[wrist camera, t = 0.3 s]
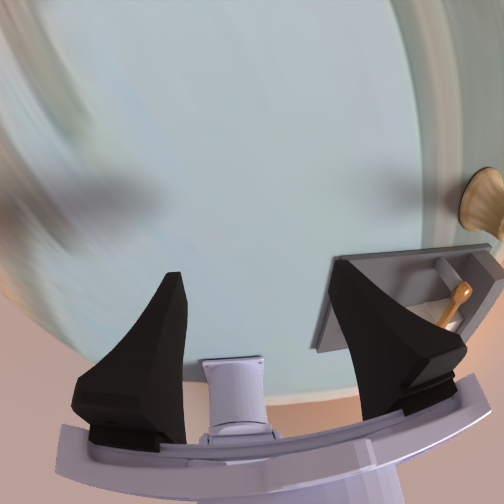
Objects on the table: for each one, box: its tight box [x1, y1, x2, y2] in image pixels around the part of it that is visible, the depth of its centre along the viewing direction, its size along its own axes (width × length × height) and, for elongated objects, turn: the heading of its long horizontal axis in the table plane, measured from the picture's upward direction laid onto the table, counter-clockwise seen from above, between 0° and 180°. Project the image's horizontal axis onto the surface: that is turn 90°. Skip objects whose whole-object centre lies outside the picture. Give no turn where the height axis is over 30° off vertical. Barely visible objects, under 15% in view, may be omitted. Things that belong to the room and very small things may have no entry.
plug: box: [405, 297, 465, 333], centre depth 31 cm, size 4×17×5 cm, turn 90°
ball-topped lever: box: [436, 281, 472, 329], centre depth 27 cm, size 15×2×1 cm, turn 0°
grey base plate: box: [316, 244, 504, 353], centre depth 29 cm, size 16×24×6 cm, turn 90°
